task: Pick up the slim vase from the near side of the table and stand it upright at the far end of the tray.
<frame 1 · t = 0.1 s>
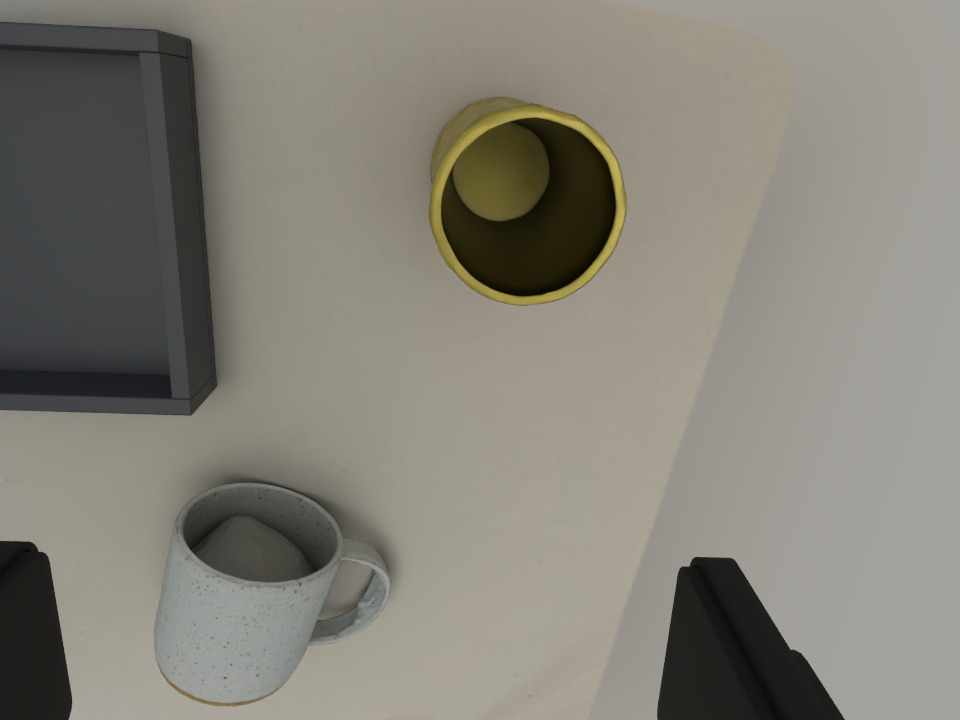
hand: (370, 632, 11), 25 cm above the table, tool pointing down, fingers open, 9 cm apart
vase: (499, 170, 33), on the table
ceramic mug: (291, 549, 39), on the table
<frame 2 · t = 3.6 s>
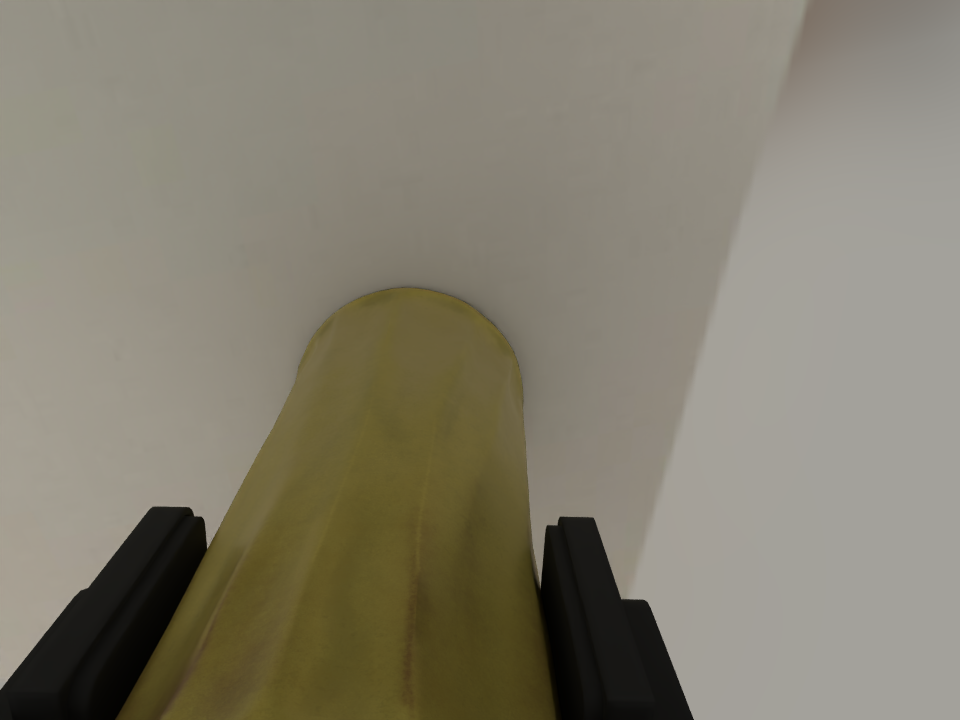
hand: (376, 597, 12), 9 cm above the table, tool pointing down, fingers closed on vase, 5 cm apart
vase: (410, 392, 20), on the table, touching gripper
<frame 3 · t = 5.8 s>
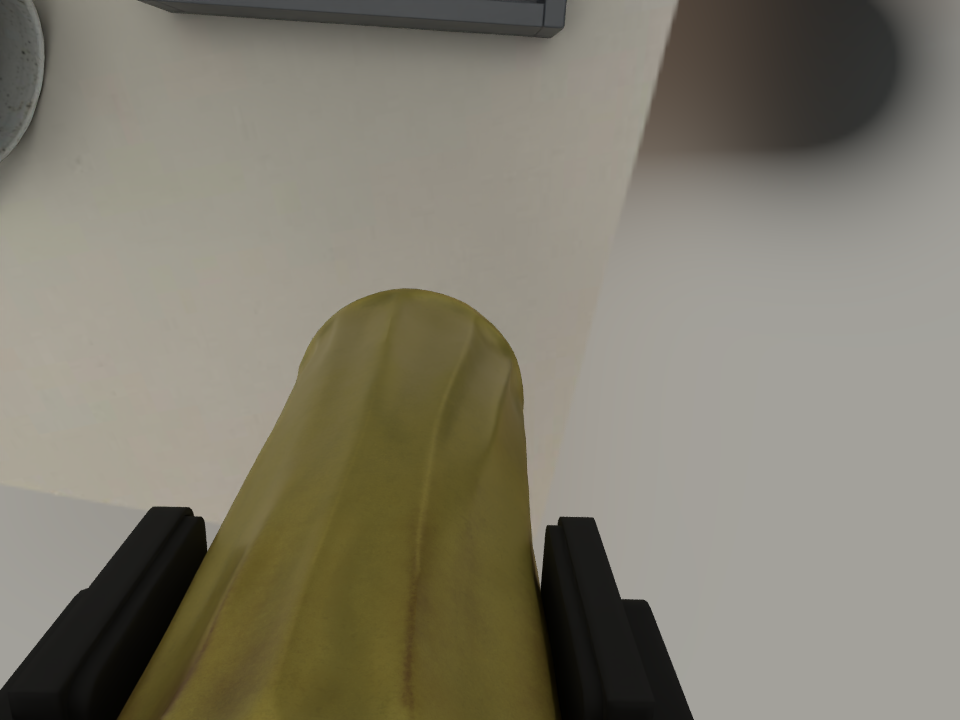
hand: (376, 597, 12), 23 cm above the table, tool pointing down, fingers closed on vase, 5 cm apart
vase: (411, 392, 20), point 14 cm above the table, touching gripper
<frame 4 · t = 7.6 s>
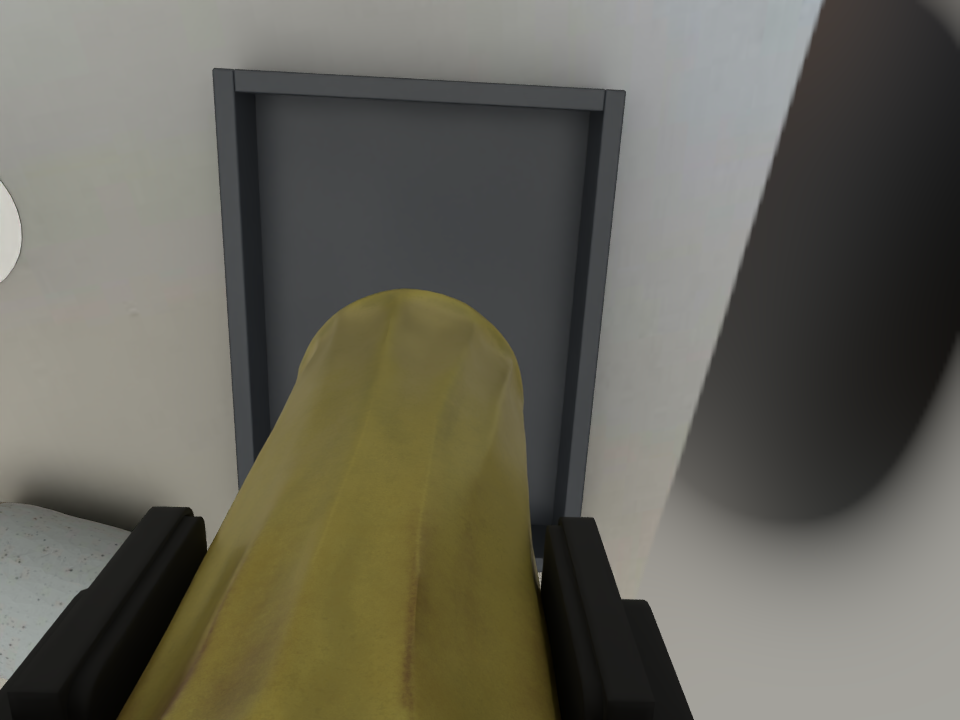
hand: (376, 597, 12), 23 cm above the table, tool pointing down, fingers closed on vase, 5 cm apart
tray: (419, 327, 34), on the table
vase: (411, 393, 20), point 14 cm above the table, touching gripper
ceramic mug: (88, 571, 38), on the table
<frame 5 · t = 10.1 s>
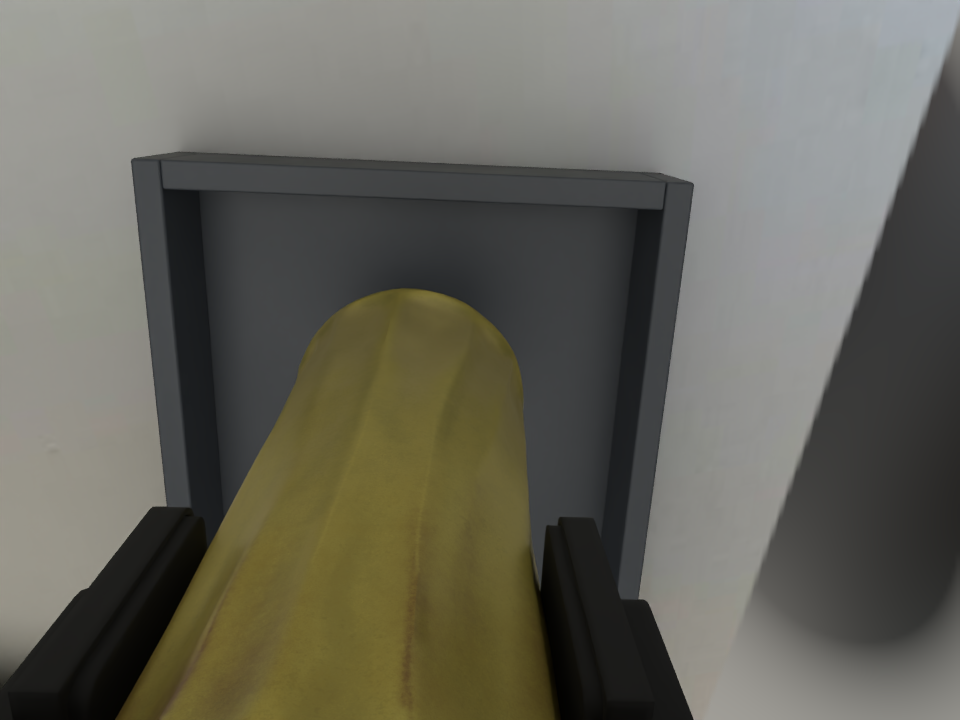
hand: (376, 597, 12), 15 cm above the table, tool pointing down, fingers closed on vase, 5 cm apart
tray: (417, 463, 27), on the table
vase: (411, 392, 20), point 6 cm above the table, touching gripper
when the fingers open (9 cm above the table, at t = 11.9 s): vase stays where it is, resting on tray.
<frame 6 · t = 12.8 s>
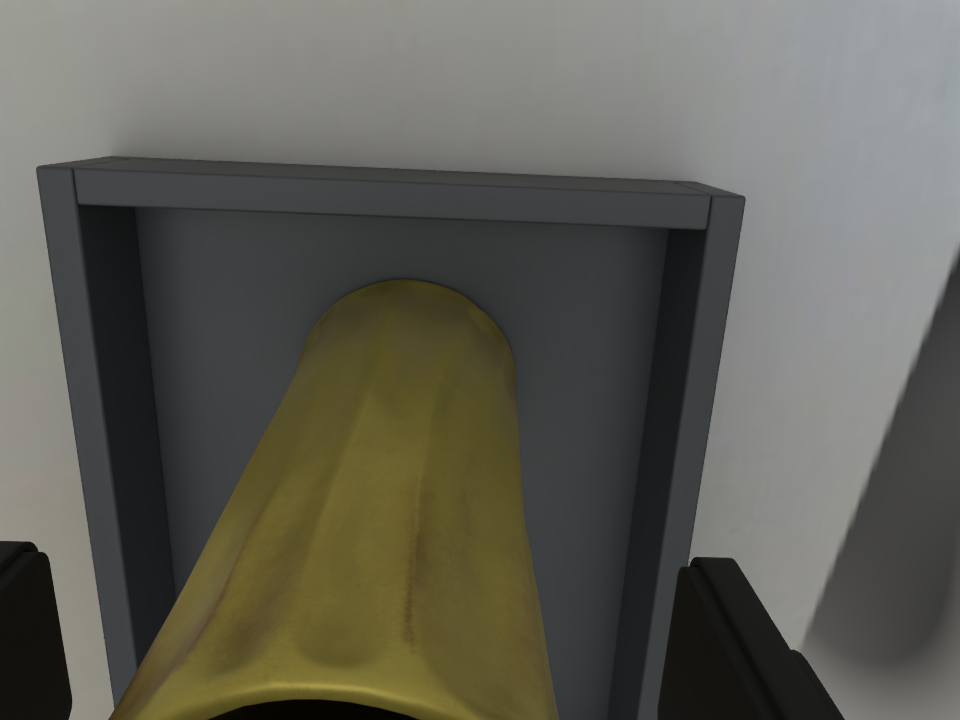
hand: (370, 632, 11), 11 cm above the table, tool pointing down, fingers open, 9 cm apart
tray: (403, 524, 23), on the table
vase: (408, 380, 21), resting on tray
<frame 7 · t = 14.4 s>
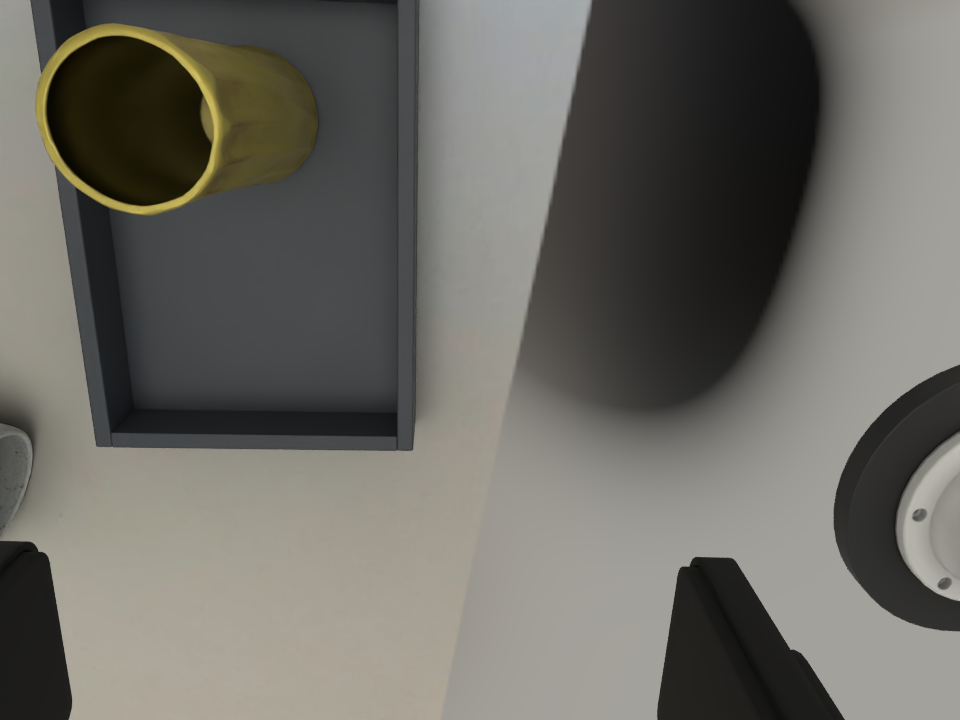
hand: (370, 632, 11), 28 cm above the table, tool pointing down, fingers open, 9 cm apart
tray: (260, 221, 36), on the table
vase: (253, 116, 34), resting on tray
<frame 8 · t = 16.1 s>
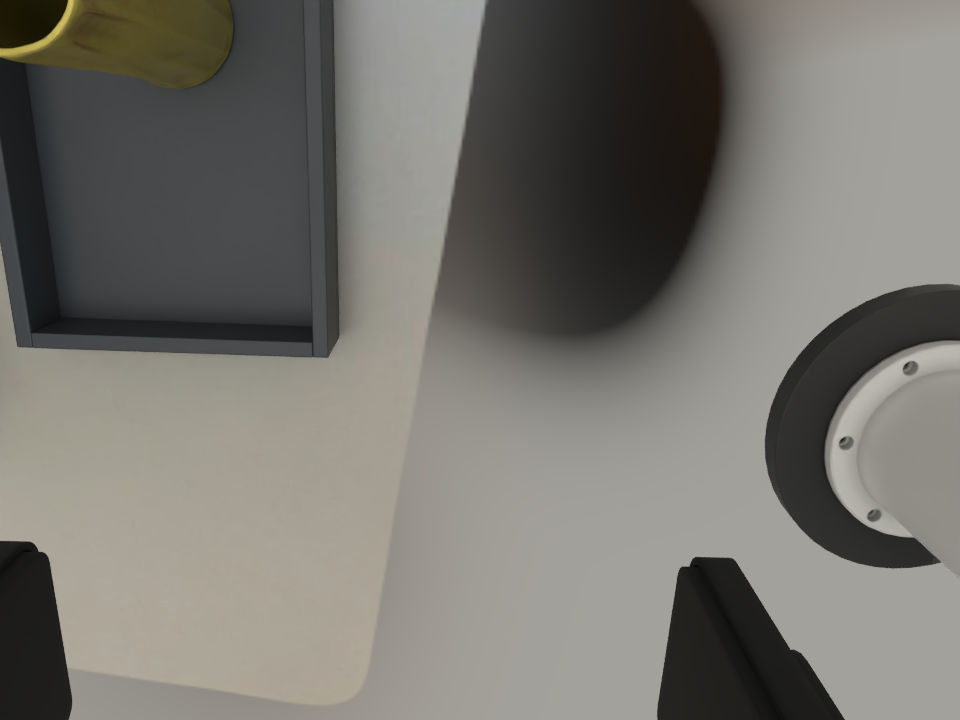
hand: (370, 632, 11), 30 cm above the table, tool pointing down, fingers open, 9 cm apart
tray: (181, 129, 37), on the table
vase: (171, 21, 35), resting on tray
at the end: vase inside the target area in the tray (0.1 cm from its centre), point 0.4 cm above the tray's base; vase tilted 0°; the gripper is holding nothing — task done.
